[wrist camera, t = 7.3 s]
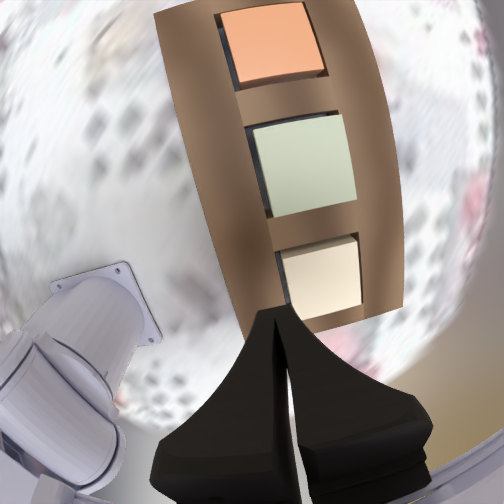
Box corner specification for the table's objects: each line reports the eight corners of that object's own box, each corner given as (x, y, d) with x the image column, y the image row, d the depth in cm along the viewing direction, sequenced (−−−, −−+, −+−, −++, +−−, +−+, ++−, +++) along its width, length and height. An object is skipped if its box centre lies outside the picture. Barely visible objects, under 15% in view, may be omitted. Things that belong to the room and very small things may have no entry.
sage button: (269, 207, 18) (274, 217, 16) (251, 132, 16) (253, 129, 14) (343, 191, 18) (357, 199, 15) (328, 117, 16) (341, 114, 13)
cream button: (290, 303, 22) (295, 321, 19) (277, 245, 20) (282, 259, 18) (350, 287, 21) (361, 304, 19) (344, 229, 20) (356, 241, 17)
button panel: (246, 329, 23) (247, 348, 21) (163, 26, 14) (153, 13, 12) (390, 292, 22) (402, 306, 20) (336, -2, 13) (347, -16, 11)
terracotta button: (240, 90, 16) (239, 82, 13) (222, 28, 14) (220, 13, 12) (314, 77, 16) (324, 68, 13) (294, 17, 14) (301, 2, 11)
